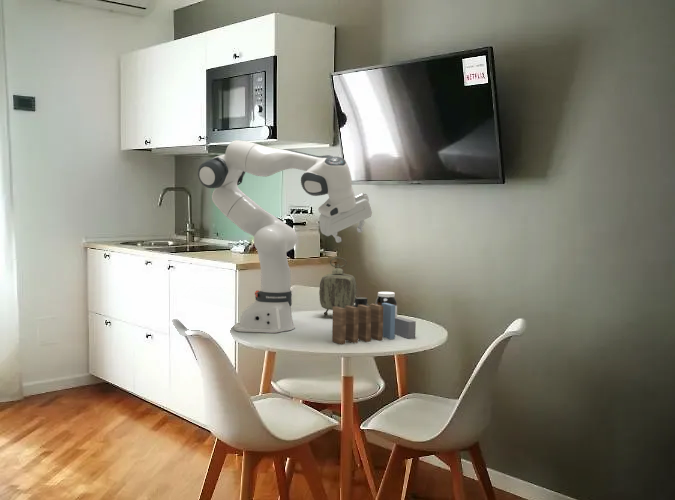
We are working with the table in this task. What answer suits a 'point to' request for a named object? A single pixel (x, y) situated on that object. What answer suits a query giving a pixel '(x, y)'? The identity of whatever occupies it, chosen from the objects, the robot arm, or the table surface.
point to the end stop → (405, 327)
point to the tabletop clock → (337, 289)
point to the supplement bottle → (360, 301)
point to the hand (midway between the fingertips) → (349, 236)
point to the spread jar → (387, 299)
